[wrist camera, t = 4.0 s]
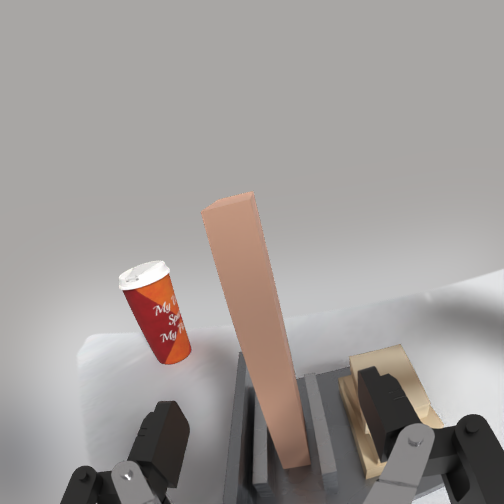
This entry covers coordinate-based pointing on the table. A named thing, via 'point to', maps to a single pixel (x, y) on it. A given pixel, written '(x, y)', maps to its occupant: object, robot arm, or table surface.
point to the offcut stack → (402, 370)
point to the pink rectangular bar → (258, 320)
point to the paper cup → (156, 310)
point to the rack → (320, 448)
